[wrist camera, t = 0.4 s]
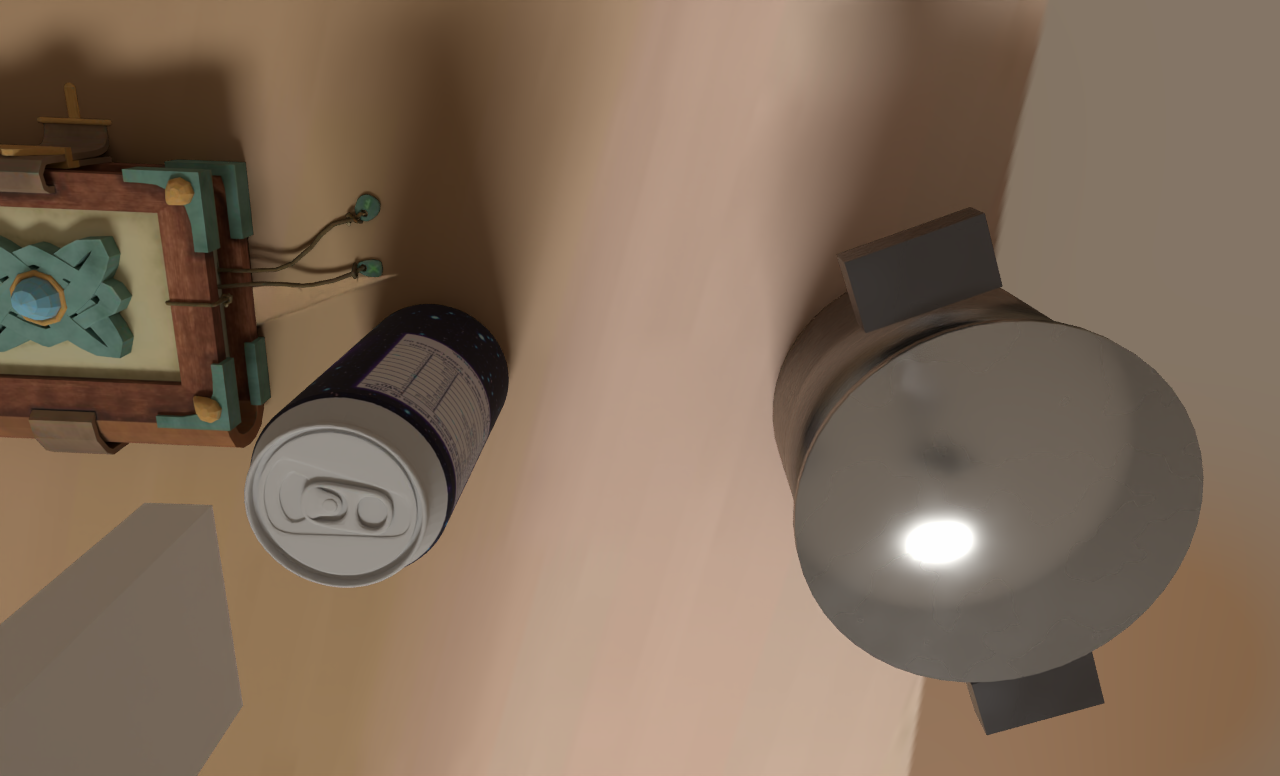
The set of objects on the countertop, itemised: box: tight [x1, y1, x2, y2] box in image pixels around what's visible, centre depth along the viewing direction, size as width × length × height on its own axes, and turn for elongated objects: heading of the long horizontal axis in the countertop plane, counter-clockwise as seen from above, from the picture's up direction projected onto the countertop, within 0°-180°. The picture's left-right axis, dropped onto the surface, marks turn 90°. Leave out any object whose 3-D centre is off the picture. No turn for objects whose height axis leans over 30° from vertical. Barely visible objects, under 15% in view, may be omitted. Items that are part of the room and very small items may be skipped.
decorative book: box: [0, 83, 383, 454], centre depth 32 cm, size 13×18×5 cm
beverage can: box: [244, 304, 509, 587], centre depth 29 cm, size 6×6×12 cm
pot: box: [773, 207, 1203, 735], centre depth 31 cm, size 12×17×9 cm
